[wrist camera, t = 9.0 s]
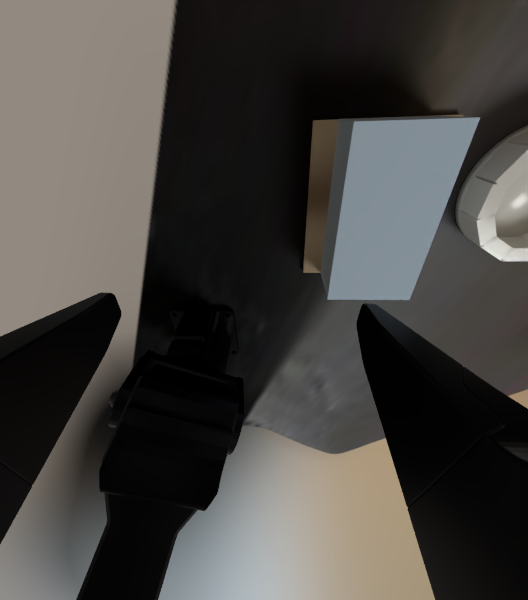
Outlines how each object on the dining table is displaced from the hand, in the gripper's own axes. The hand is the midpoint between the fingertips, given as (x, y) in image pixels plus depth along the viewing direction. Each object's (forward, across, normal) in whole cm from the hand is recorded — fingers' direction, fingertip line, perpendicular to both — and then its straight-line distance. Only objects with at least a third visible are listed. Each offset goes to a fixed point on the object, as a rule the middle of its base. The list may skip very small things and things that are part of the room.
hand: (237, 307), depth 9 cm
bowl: (+13, -19, -2) cm, 23 cm away
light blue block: (+12, -8, 0) cm, 15 cm away
